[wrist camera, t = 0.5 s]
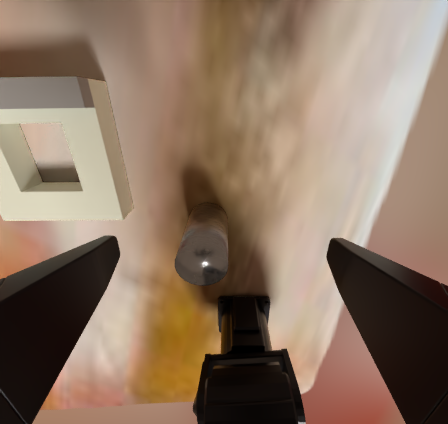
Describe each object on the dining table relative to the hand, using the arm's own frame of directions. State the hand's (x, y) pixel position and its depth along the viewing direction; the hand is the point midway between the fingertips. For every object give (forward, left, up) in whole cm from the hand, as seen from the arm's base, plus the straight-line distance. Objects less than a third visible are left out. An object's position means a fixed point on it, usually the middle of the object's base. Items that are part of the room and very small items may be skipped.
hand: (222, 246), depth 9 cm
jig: (+1, +15, -12) cm, 19 cm away
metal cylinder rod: (-6, +2, -12) cm, 13 cm away
